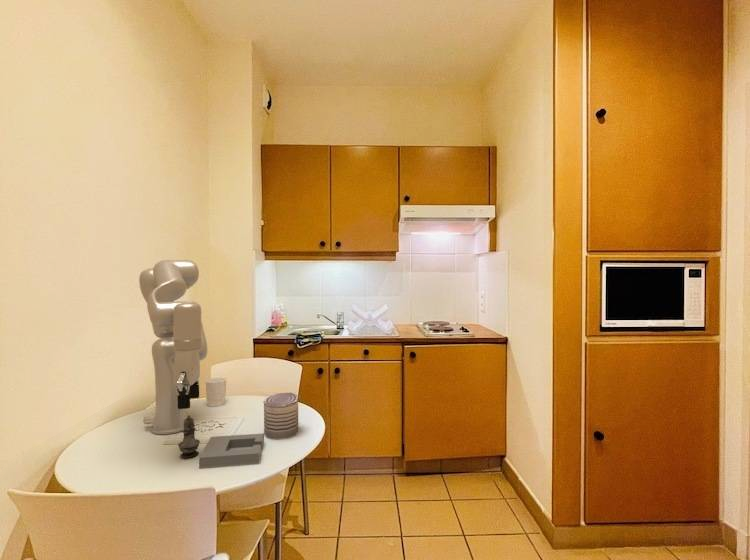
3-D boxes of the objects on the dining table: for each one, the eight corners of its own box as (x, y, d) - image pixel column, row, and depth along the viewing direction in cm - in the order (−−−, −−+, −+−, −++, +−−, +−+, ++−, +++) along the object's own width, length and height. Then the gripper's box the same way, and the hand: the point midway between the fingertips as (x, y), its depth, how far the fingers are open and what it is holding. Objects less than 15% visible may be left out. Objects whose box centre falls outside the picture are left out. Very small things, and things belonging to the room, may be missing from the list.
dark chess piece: (177, 461, 116) (177, 420, 115) (178, 452, 121) (178, 413, 121) (200, 457, 118) (199, 417, 118) (200, 449, 124) (199, 410, 123)
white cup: (230, 404, 165) (229, 379, 165) (211, 408, 159) (210, 383, 159) (221, 399, 170) (220, 376, 170) (202, 404, 165) (202, 380, 164)
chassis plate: (199, 468, 112) (199, 457, 112) (211, 446, 125) (210, 436, 125) (258, 463, 114) (258, 453, 114) (264, 442, 128) (263, 433, 128)
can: (305, 432, 137) (305, 397, 136) (277, 443, 128) (277, 405, 128) (284, 423, 144) (284, 390, 144) (257, 433, 135) (256, 398, 135)
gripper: (183, 341, 127) (184, 395, 127) (163, 351, 109) (165, 413, 110) (208, 340, 128) (209, 393, 128) (193, 350, 111) (194, 412, 111)
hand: (189, 403), depth 119 cm, fingers open, 9 cm apart
